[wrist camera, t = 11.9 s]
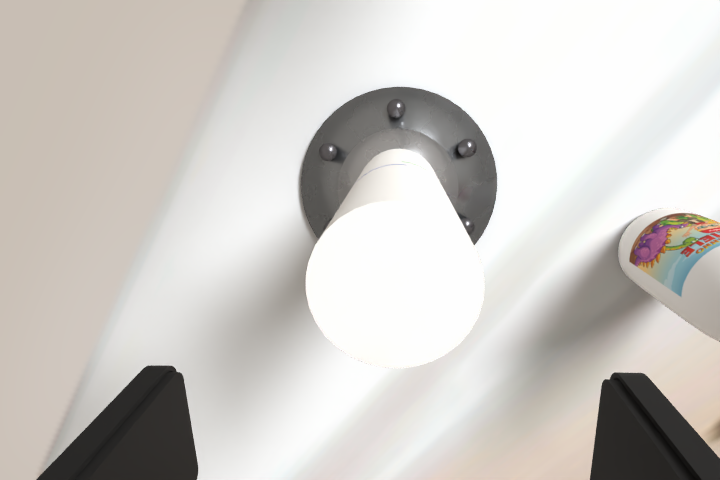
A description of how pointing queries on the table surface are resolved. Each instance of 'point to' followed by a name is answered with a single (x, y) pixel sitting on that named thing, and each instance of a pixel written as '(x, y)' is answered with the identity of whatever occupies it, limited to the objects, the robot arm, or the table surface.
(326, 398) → the table surface
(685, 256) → the milk bottle
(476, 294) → the cylindrical container
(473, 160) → the flange
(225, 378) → the table surface
